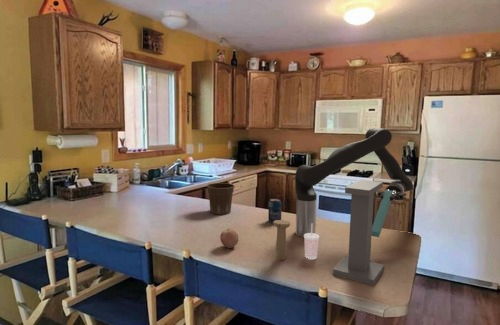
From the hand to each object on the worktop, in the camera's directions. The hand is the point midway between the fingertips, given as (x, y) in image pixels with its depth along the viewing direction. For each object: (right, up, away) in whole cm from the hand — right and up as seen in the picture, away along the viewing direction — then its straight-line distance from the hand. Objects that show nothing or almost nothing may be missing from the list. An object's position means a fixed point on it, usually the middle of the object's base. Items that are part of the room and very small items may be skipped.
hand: (386, 198), depth 147 cm
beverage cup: (-36, -22, -15) cm, 45 cm away
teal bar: (-3, -7, -3) cm, 8 cm away
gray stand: (-20, -24, -26) cm, 41 cm away
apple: (-70, -21, -5) cm, 73 cm away
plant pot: (-78, -14, +49) cm, 93 cm away
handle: (-49, -22, -17) cm, 56 cm away
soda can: (-47, -16, +31) cm, 59 cm away
